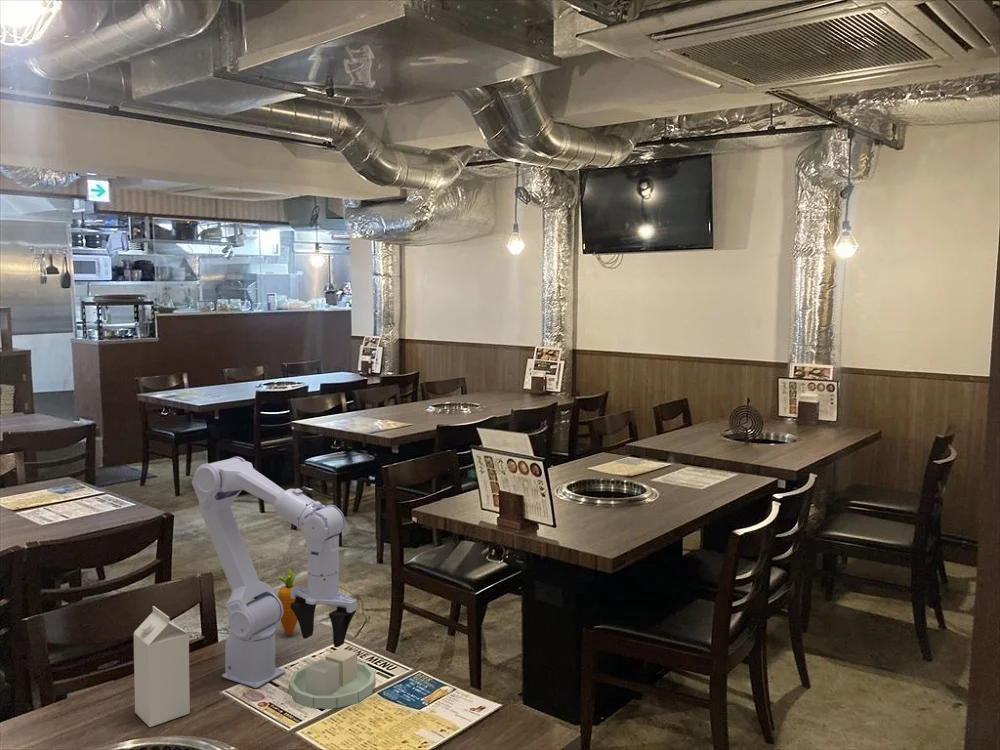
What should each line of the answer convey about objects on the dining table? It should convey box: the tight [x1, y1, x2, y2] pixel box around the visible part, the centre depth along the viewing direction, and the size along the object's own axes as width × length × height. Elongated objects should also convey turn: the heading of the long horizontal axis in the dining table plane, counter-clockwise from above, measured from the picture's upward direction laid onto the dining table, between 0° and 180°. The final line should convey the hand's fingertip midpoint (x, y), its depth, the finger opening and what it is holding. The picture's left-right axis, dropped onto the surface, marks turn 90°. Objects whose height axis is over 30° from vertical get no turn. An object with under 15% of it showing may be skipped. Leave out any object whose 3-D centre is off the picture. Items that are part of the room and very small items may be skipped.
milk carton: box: [133, 605, 191, 728], centre depth 141 cm, size 7×7×19 cm
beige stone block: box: [324, 647, 358, 686], centre depth 155 cm, size 4×4×5 cm
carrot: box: [277, 568, 298, 636], centre depth 175 cm, size 5×5×15 cm
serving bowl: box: [288, 660, 376, 709], centre depth 153 cm, size 16×16×2 cm
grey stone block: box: [306, 658, 339, 696], centre depth 150 cm, size 4×4×5 cm
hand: (323, 641), depth 149 cm, fingers open, 7 cm apart
